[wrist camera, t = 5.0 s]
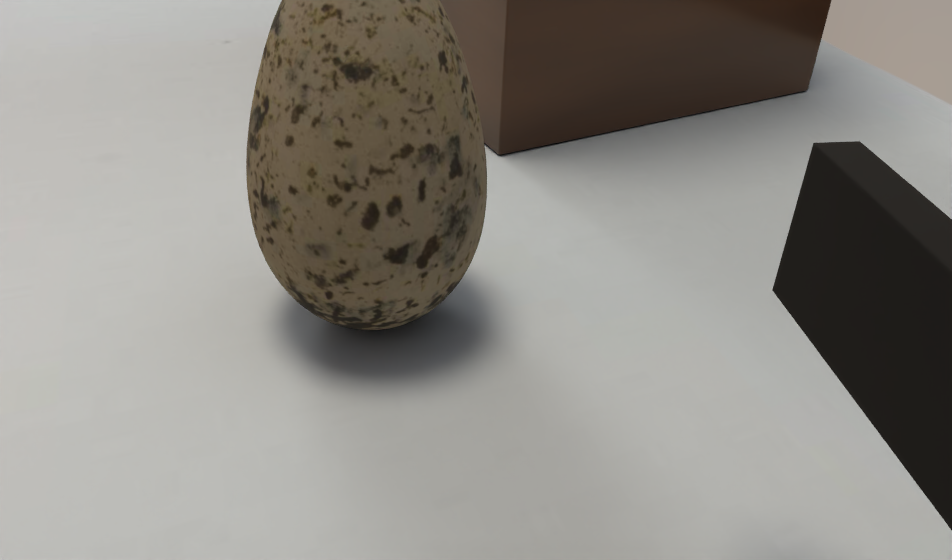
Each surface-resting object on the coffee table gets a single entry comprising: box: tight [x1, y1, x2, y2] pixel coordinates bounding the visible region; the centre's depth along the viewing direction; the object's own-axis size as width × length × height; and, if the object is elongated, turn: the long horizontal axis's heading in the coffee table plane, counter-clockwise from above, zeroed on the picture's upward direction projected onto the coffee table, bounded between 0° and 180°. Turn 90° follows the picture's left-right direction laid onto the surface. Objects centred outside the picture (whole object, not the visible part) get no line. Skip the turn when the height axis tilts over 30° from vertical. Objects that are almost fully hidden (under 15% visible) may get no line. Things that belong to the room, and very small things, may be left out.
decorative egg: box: [246, 0, 487, 330], centre depth 21 cm, size 6×6×10 cm
